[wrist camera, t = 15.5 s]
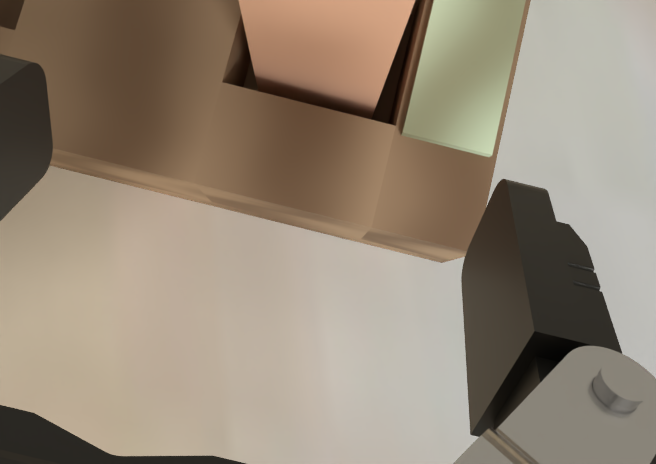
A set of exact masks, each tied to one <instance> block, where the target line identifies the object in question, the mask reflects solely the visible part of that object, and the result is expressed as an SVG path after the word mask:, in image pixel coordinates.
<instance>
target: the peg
mask: <svg viewBox="0 0 656 464" xmlns="http://www.w3.org/2000/svg"><path fill="white" fill-rule="evenodd" d="M414 3H415V0H239V5H240V9H241V14H242V19H243V23H244V28H245V32H246V37H247V42H248V46H249V51H250V55H251V60H252V64H253V69H254V74H255V78H256V83H257V87H258V91H259V92H263V93H267V94H271V95H275V96H279V97H283V98H287V99H291V100H295V101H299V102H303V103H307V104H311V105H315V106H319V107H323V108H327V109H331V110H335V111H339V112H343V113H347V114H351V115H355V116H359V117H363V118H367V119H371V118H372V116H373V113H374V110H375V108H376V105H377V102H378V100H379V97H380V94H381V92H382V89H383V86H384V83H385V81H386V78H387V75H388V73H389V70H390V67H391V65H392V62H393V59H394V57H395V54H396V51H397V49H398V46H399V43H400V40H401V38H402V35H403V32H404V30H405V27H406V24H407V22H408V19H409V16H410V14H411V11H412V8H413V5H414Z"/></svg>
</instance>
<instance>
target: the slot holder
mask: <svg viewBox="0 0 656 464" xmlns="http://www.w3.org/2000/svg"><path fill="white" fill-rule="evenodd" d="M530 1H531V0H415V3H414V5H413V8H412V11H411V14H410V16H409V19H408V22H407V24H406V27H405V30H404V32H403V35H402V38H401V40H400V43H399V46H398V49H397V51H396V54H395V57H394V59H393V62H392V65H391V67H390V70H389V73H388V75H387V78H386V81H385V83H384V86H383V89H382V92H381V94H380V97H379V100H378V102H377V105H376V108H375V110H374V113H373V116H372V118H371V119H367V118H363V117H359V116H355V115H351V114H347V113H343V112H339V111H335V110H331V109H327V108H323V107H319V106H315V105H311V104H307V103H303V102H299V101H295V100H291V99H287V98H283V97H279V96H275V95H271V94H267V93H263V92H259V91H258V87H257V83H256V78H255V74H254V69H253V64H252V60H251V55H250V51H249V46H248V42H247V37H246V32H245V28H244V23H243V19H242V14H241V9H240V5H239V0H0V54H2V55H6V56H10V57H15V58H19V59H23V60H27V61H31V62H35V63H38V64H39V65H40V66H41V67H42V68H43V70H44V73H45V76H46V83H47V92H48V101H49V111H50V120H51V130H52V139H53V152H52V158H51V162H50V165H51V166H55V167H59V168H63V169H67V170H71V171H75V172H79V173H83V174H87V175H91V176H95V177H99V178H103V179H107V180H111V181H115V182H119V183H123V184H127V185H131V186H135V187H139V188H143V189H147V190H151V191H155V192H159V193H163V194H167V195H171V196H175V197H179V198H183V199H187V200H191V201H195V202H200V203H204V204H208V205H212V206H216V207H220V208H224V209H228V210H232V211H236V212H240V213H244V214H248V215H252V216H256V217H260V218H264V219H268V220H272V221H276V222H280V223H284V224H288V225H292V226H296V227H300V228H304V229H308V230H312V231H316V232H320V233H324V234H328V235H332V236H336V237H340V238H344V239H348V240H352V241H357V242H361V243H365V244H369V245H373V246H377V247H381V248H385V249H389V250H393V251H397V252H401V253H405V254H409V255H413V256H417V257H421V258H425V259H429V260H433V261H437V262H441V263H443V262H446V261H450V260H454V259H457V258H461V257H465V256H466V252H467V250H468V247H469V245H470V242H471V240H472V238H473V236H474V234H475V231H476V229H477V227H478V225H479V223H480V220H481V218H482V216H483V214H484V212H485V209H486V205H487V200H488V196H489V191H490V186H491V182H492V177H493V172H494V168H495V163H496V158H497V154H498V149H499V144H500V140H501V135H502V131H503V126H504V121H505V117H506V112H507V107H508V103H509V98H510V93H511V89H512V84H513V79H514V75H515V70H516V66H517V61H518V56H519V52H520V47H521V42H522V38H523V33H524V28H525V24H526V19H527V14H528V10H529V5H530Z"/></svg>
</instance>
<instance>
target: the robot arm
mask: <svg viewBox="0 0 656 464" xmlns="http://www.w3.org/2000/svg"><path fill="white" fill-rule="evenodd" d="M52 152H53V139H52V130H51V120H50V111H49V101H48V92H47V83H46V76H45V73H44V70H43V68H42V67H41V66H40V65H39V64H38V63H35V62H31V61H27V60H23V59H19V58H15V57H10V56H6V55H2V54H0V221H1V220H2V219H3V218H4V217H5V216H6V215H7V214H8V213H9V212H10V211H11V209H12V208H13V207H14V206H15V205H16V204H17V203H18V202H19V201H20V200H21V199H22V198H23V197H24V196H25V195H26V194H27V193H28V192H29V191H30V190H31V189H32V188H33V187H34V186H35V185H36V184H37V183H38V182H39V180H40V179H41V178H42V177H43V176H44V175H45V173H46V171H47V169H48V167H49V165H50V162H51V158H52ZM593 271H594V266H593V263H592V260H591V257H590V254H589V251H588V248H587V246H586V245H585V243H584V242H583V241H582V240H581V239H580V237H579V236H578V235H577V234H576V233H575V231H574V230H573V229H572V228H571V226H570V225H569V224H565V223H561V222H556V219H555V215H554V212H553V208H552V204H551V201H550V197H549V194H548V191H547V190H546V189H543V188H539V187H535V186H530V185H526V184H522V183H518V182H514V181H510V180H506V179H502V180H501V181H500V182H499V183H498V184H497V186H496V188H495V190H494V192H493V194H492V196H491V198H490V201H489V203H488V205H487V207H486V209H485V212H484V214H483V216H482V218H481V220H480V223H479V225H478V227H477V229H476V231H475V234H474V236H473V238H472V240H471V242H470V245H469V247H468V250H467V252H466V256H465V259H464V264H463V269H462V297H463V314H464V331H465V348H466V365H467V383H468V400H469V417H470V434H471V435H474V436H478V437H479V438H478V439H477V440H476V441H475V442H474V443H473V444H472V445H471V446H470V447H469V448H468V449H467V450H466V451H465V452H464V453H463V454H462V455H461V456H460V457H459V458H458V459H457V460H456V461H455V462H454V464H656V379H655V377H654V376H653V375H652V374H650V373H649V372H648V371H647V370H646V369H645V368H644V367H642V366H641V365H640V364H638V363H637V362H635V361H634V360H632V359H631V358H629V357H627V356H625V355H623V354H622V351H621V348H620V345H619V342H618V339H617V336H616V333H615V330H614V327H613V324H612V321H611V318H610V315H609V312H608V309H607V306H606V303H605V300H604V296H603V293H602V292H600V291H599V290H600V284H599V281H598V278H597V275H596V273H593ZM0 464H245V463H241V462H237V461H233V460H229V459H224V458H220V457H216V456H115V455H111V454H109V453H106V452H104V451H102V450H101V449H99V448H97V447H95V446H93V445H91V444H90V443H88V442H86V441H84V440H82V439H81V438H79V437H77V436H75V435H73V434H71V433H70V432H68V431H66V430H64V429H62V428H60V427H59V426H57V425H55V424H53V423H51V422H49V421H48V420H46V419H44V418H42V417H40V416H38V415H37V414H35V413H31V412H27V411H23V410H19V409H15V408H10V407H6V406H2V405H0Z"/></svg>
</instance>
